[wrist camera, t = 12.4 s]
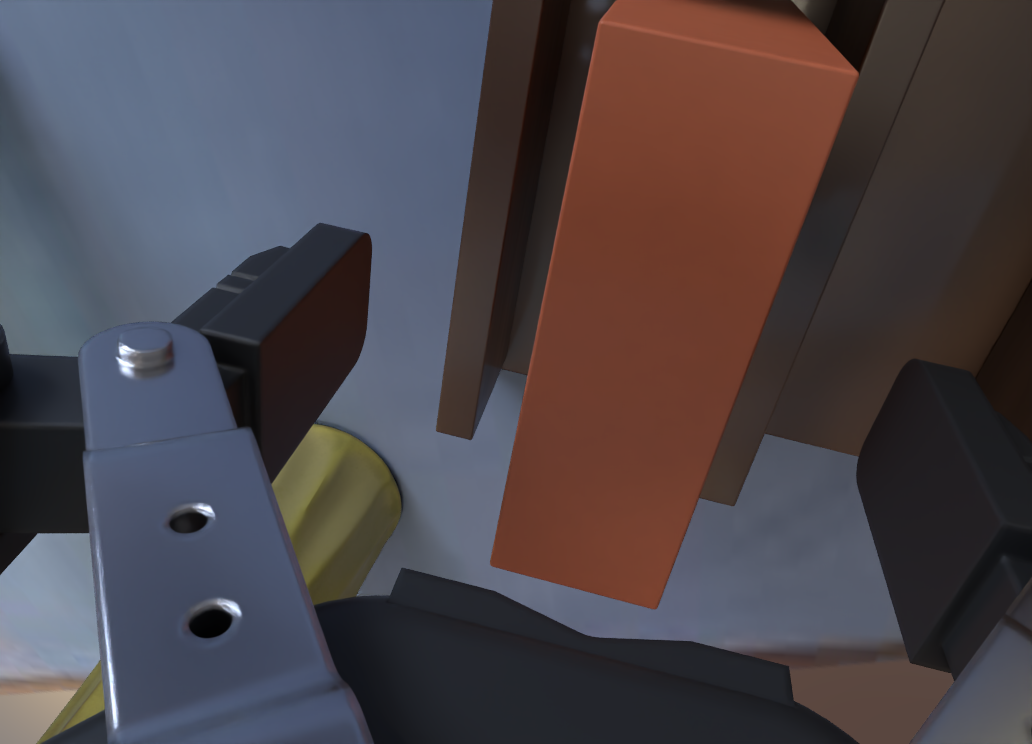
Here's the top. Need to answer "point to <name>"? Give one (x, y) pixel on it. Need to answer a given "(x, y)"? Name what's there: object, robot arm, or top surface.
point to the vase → (309, 530)
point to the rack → (825, 232)
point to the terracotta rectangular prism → (662, 278)
